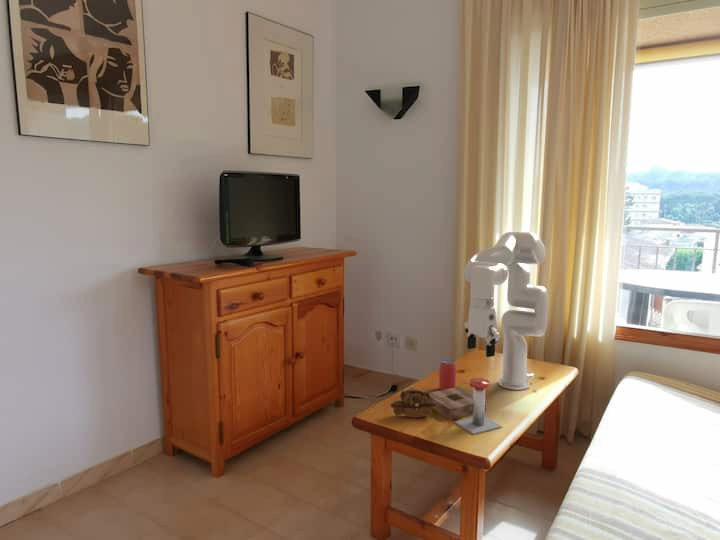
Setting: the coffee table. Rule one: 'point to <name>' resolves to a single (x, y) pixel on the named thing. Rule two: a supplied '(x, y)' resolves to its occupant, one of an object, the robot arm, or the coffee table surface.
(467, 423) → the mat
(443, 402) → the eye block
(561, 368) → the coffee table surface
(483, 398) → the peg
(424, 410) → the wooden carving
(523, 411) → the coffee table surface
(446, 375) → the beer can
